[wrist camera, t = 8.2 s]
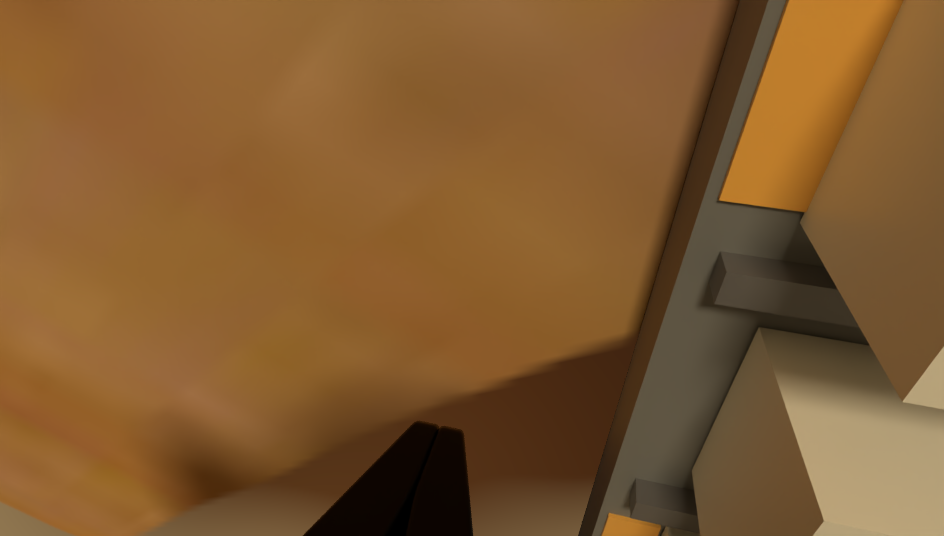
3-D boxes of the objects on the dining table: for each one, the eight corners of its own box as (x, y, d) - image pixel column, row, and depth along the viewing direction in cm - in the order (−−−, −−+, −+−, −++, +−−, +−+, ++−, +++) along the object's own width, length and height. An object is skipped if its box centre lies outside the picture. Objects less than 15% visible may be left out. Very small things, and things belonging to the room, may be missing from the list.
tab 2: (957, 360, 9) (1124, 585, 6) (845, 503, 11) (925, 713, 8) (758, 327, 9) (824, 521, 6) (691, 470, 11) (717, 660, 8)
